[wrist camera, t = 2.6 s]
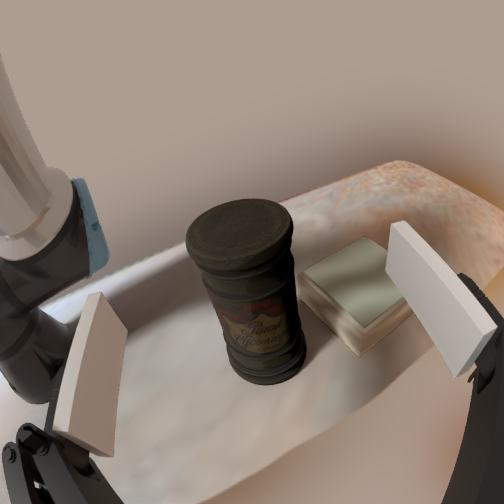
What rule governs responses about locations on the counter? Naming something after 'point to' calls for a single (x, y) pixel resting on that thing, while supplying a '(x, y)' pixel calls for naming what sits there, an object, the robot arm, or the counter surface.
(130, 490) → the counter surface
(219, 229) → the container
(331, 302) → the stand
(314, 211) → the counter surface
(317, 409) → the counter surface
